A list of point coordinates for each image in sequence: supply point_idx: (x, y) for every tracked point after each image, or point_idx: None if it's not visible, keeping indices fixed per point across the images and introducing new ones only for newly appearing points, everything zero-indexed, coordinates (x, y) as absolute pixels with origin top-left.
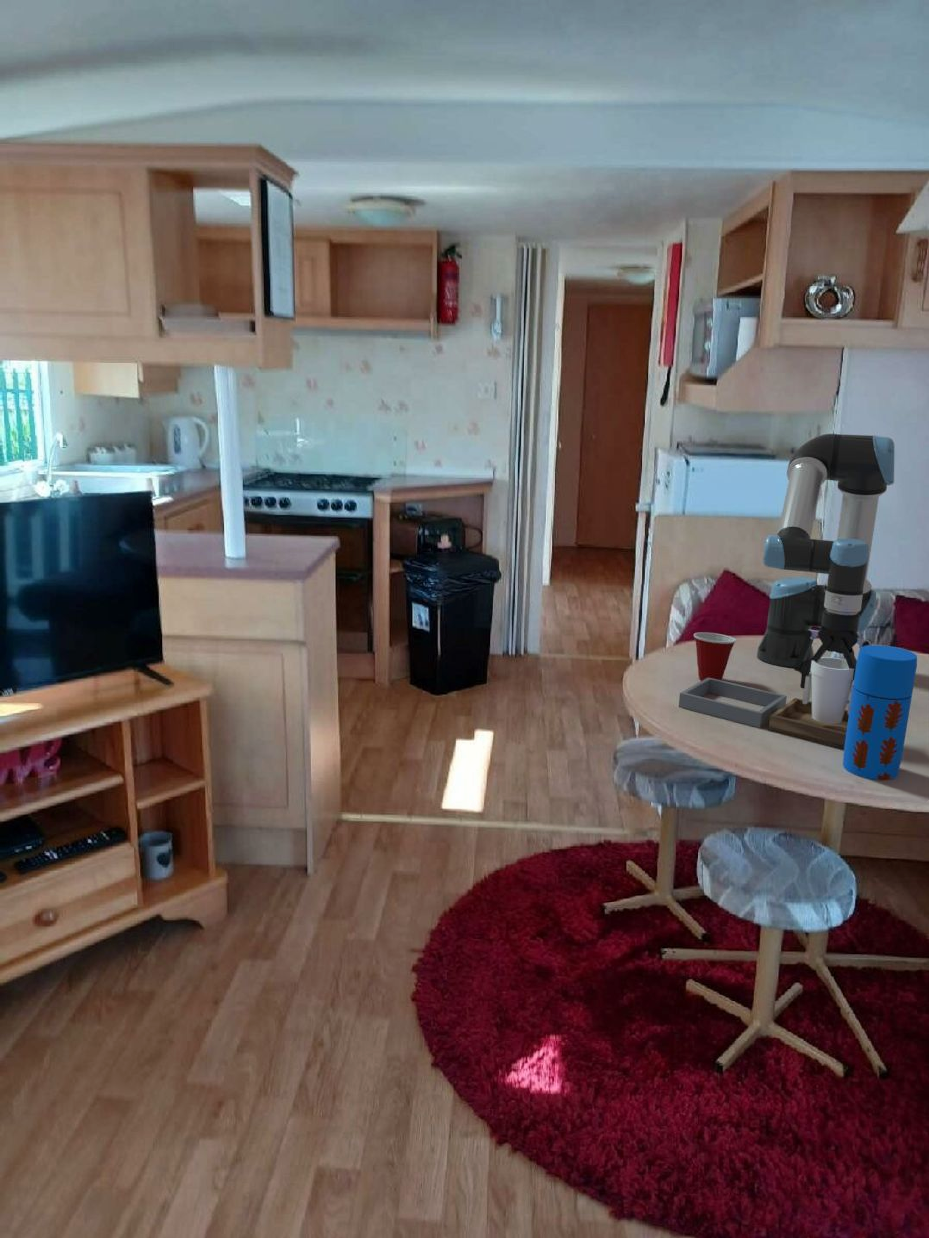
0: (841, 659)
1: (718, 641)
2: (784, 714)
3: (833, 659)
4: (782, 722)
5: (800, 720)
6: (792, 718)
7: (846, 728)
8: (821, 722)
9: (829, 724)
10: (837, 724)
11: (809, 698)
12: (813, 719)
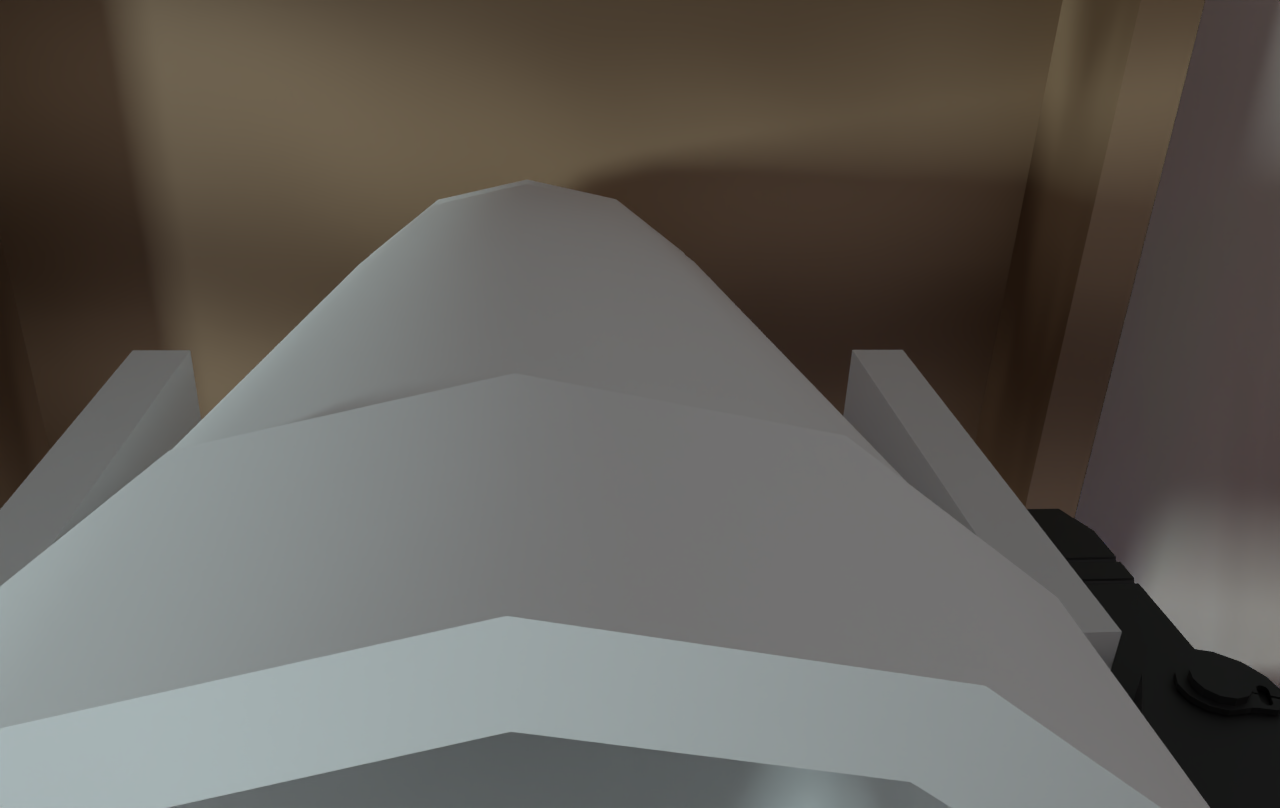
0: (588, 708)
1: None
2: (7, 414)
3: (225, 751)
4: None
5: (200, 287)
6: (91, 286)
7: (746, 172)
8: (429, 172)
9: (534, 176)
10: (615, 100)
11: (176, 400)
12: (301, 126)
